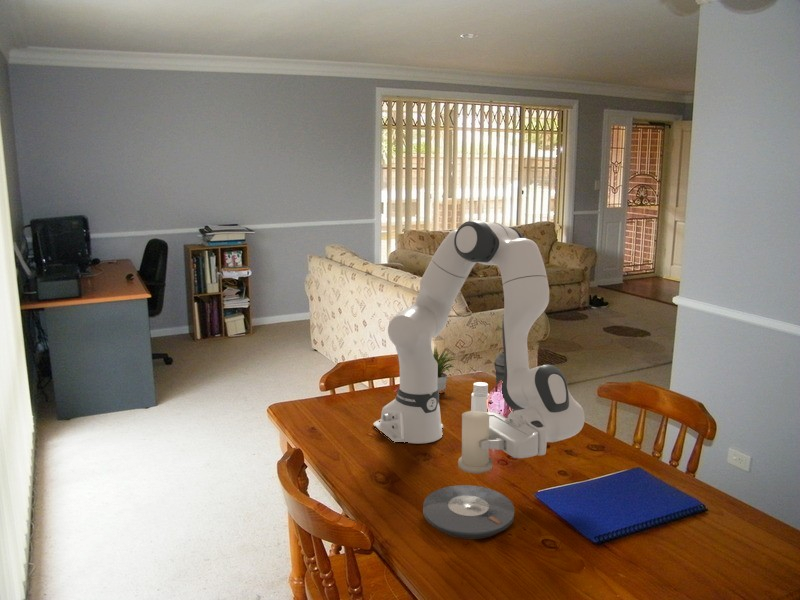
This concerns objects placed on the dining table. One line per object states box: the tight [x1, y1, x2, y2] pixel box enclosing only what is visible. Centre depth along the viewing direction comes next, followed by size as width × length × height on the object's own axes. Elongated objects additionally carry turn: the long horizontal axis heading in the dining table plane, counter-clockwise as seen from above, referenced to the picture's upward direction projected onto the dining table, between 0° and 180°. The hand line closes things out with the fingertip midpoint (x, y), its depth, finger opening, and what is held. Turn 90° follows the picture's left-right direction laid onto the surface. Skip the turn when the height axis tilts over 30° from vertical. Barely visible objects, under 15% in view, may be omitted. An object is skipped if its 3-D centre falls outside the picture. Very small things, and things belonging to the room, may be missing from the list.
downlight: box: [470, 381, 490, 412], centre depth 208 cm, size 8×7×10 cm
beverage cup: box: [493, 351, 505, 386], centre depth 224 cm, size 7×7×20 cm
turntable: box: [422, 484, 515, 537], centre depth 143 cm, size 20×20×2 cm
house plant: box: [433, 347, 459, 391], centre depth 228 cm, size 14×14×16 cm
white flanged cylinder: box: [457, 410, 493, 474], centre depth 145 cm, size 8×8×12 cm
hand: (471, 439), depth 145 cm, fingers closed on white flanged cylinder, 6 cm apart
